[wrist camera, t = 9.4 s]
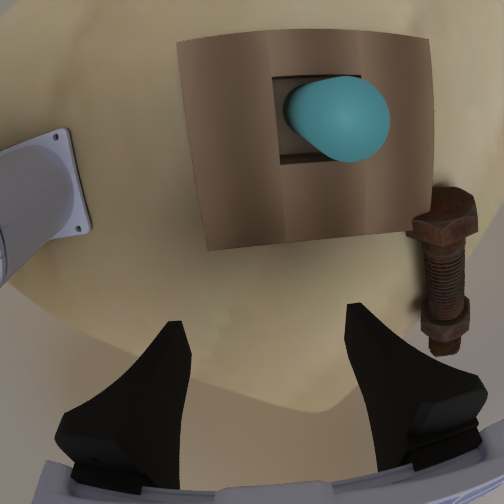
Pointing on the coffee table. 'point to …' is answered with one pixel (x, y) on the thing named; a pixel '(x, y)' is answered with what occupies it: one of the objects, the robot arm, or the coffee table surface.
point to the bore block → (296, 147)
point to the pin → (339, 117)
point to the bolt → (445, 266)
